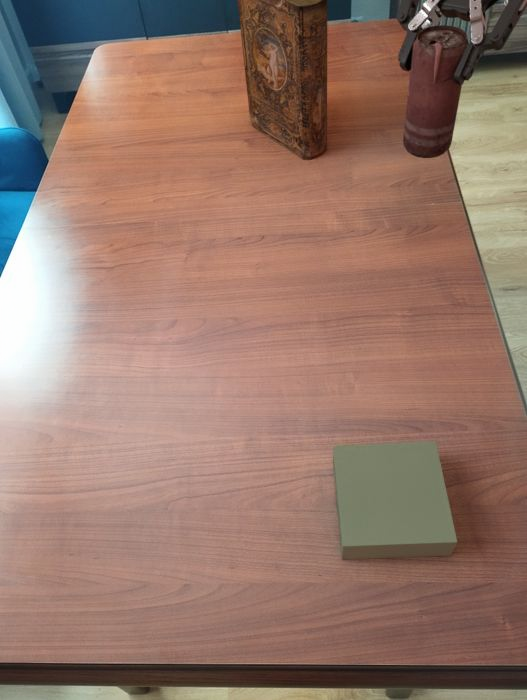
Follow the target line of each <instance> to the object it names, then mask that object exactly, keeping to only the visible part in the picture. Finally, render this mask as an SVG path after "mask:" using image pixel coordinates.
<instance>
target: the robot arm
mask: <svg viewBox="0 0 527 700" xmlns="http://www.w3.org/2000/svg"><path fill="white" fill-rule="evenodd" d="M499 1H500V0H425V1H424V3H422V5H421V9H420V10H418V7H419V4H420V0H400V3H399V7H398V10H397V14H396V20H397V21H398V24H399V25H400V26H401V27H402V29H403V30H404V31H406V34H405V36H404V40H403V41H402V44H401V47H400V50H399V52H398V54H397V60H398V62H399V67H400V69H401V70H402V71H405V72H407V73H408V72H409V73H410V69H411V60H412V51H413V43H414V41H415V40H416V38H417V35H418V34H419V32H420V31H422V30H423V29H425V28H428V27H432V26H437V25H438V24H439V23H440V22H441V21H442V20H443V19H444V18H448V19H456V18H458V19H460V20H462V21H463V22H469V23H470V39H471V41H470V42H469V44H467V45H466V48H465V50H464V52H463V55H462V57H461V59H460V62H459V64H458V67H457V69H456V71H455V74H454V77H453V80H454V81H455V83H456V84H459V85H462V86H463V85H464V84H465V81H466V82H467V81H469V80H470V79H471V78H472V77H473V75H474V73H475V70H476V67H477V65H478V63H479V61H480V59H481V56H482V54H483V53H485V51H489V50H490V51H491V50H494V51H497V52H498V51H500V50H502V49H503V48H504V47H505V45H506V43H507V41H508V40H509V38H510V36H511V35H512V33H513V31H514V29H515V27H516V26H517V24H518V22H519V21H520V19H521V18H522V15H523V14H524V12H525V10H526V8H527V0H503V5H504V9H503V11H502V12H501V14H500V16H499V18H498V20H497V21H496V23H495V25H494V27H493V29H492V30H491V32H487V11H488V10H489V9H490V8H492V7H493V6H494V5H495V4H497V3H498V2H499ZM417 11H418V12H417Z"/></svg>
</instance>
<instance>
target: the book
mask: <svg viewBox="0 0 527 700" xmlns="http://www.w3.org/2000/svg"><path fill="white" fill-rule="evenodd" d="M328 1H329V0H237V9H238V18H239V27H240V28H239V29H240V35H241V46H242V56H243V64H244V65H243V66H244V74H245V84H246V94H247V95H246V96H247V103H248V112H249V119H250V124H251V126H252V127H253V128H254V129H256V130H258V131H259V132H260V133H262V134H263V135H264V136H266V137H268V138H269V139H271V140H272V141H274V142H275V143H277V144H279V145H280V146H282V147H283V148H285V149H286V150H288V151H289V152H291V153H292V154H295V155H296V156H297V157H299V158H301V159H302V160H304V161H305V160H306V161H307V160H308V161H309V160H314V159H317V158H319V157H321V156H322V155H324V154H325V153H326V152H327V150H328V5H329V4H328Z"/></svg>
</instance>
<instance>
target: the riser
mask: <svg viewBox="0 0 527 700" xmlns="http://www.w3.org/2000/svg"><path fill="white" fill-rule="evenodd" d="M332 452H333V453H332V464H333V466H332V467H333V476H334V489H335V501H336V510H337V522H338V531H339V542H340V545H339V546H340V554H341V560H368V559H394V558H395V559H396V558H423V557H424V558H425V557H450V556H452V554H453V552H454V550H455V548H456V546H457V544H458V538H457V533H456V529H455V523H454V519H453V515H452V514H453V513H452V510H451V505H450V499H449V496H448V491H447V486H446V481H445V477H444V473H443V472H444V471H443V468H442V463H441V460H440V454H439V449H438V445H437V440H427V441H426V440H425V441H424V440H423V441H403V442H402V441H401V442H384V443H363V444H361V443H360V444H341V445H333V449H332Z"/></svg>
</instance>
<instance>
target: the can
mask: <svg viewBox="0 0 527 700" xmlns="http://www.w3.org/2000/svg"><path fill="white" fill-rule="evenodd" d="M467 44H470V42H469V40H468V34H467V32H466V31H465V30H464V29H462V28H459V27H457V26H454V25H447V24H446V25H444V24H441V25H440V24H439V25H433V26H432V27H428V28H425V29H423V30H422V31H420V32H419V34H418V35H417V38H416V40H415V41H414V43H413V51H412V60H411V69H410V71H409V78H408V79H409V80H408V82H409V83H408V89H407V90H408V91H407V98H406V108H405V118H404V125H403V126H404V127H403V137H402V145H403V147H404V148H405V150H406V151H407V153H408V154H410V155H411V156H413V157H416V158H421V159H434V158H438V157H441V156H442V155H444V154H446V152H447V151H448V150H449V149H450V148H451V146H452V142H453V137H454V132H455V131H454V130H455V125H456V120H457V115H458V109H459V103H460V98H461V92H462V88H463V87H462V86H463V85H459V84H456V83H455V81H454V80H453V77H454V74H455V71H456V69H457V67H458V64H459V62H460V59H461V57H462V55H463V52H464V50H465V48H466V45H467Z"/></svg>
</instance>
